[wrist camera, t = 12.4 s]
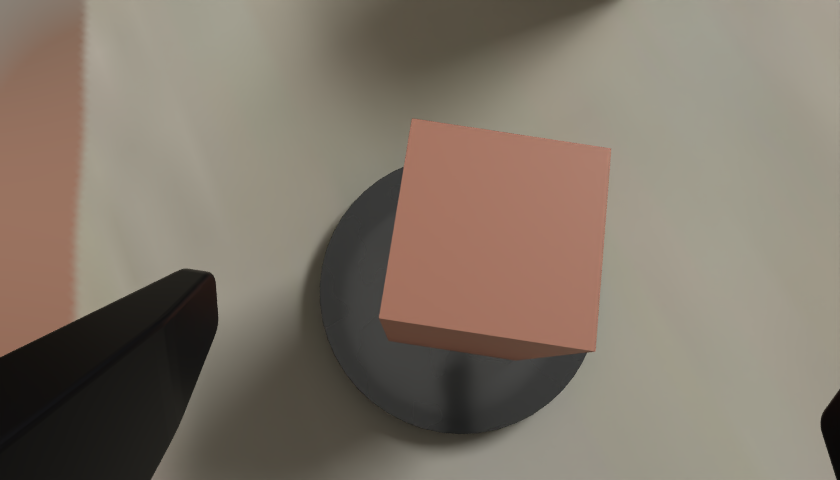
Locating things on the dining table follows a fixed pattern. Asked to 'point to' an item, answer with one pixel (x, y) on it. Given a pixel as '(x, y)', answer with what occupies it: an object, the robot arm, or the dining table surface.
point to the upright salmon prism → (496, 244)
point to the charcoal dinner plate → (411, 364)
